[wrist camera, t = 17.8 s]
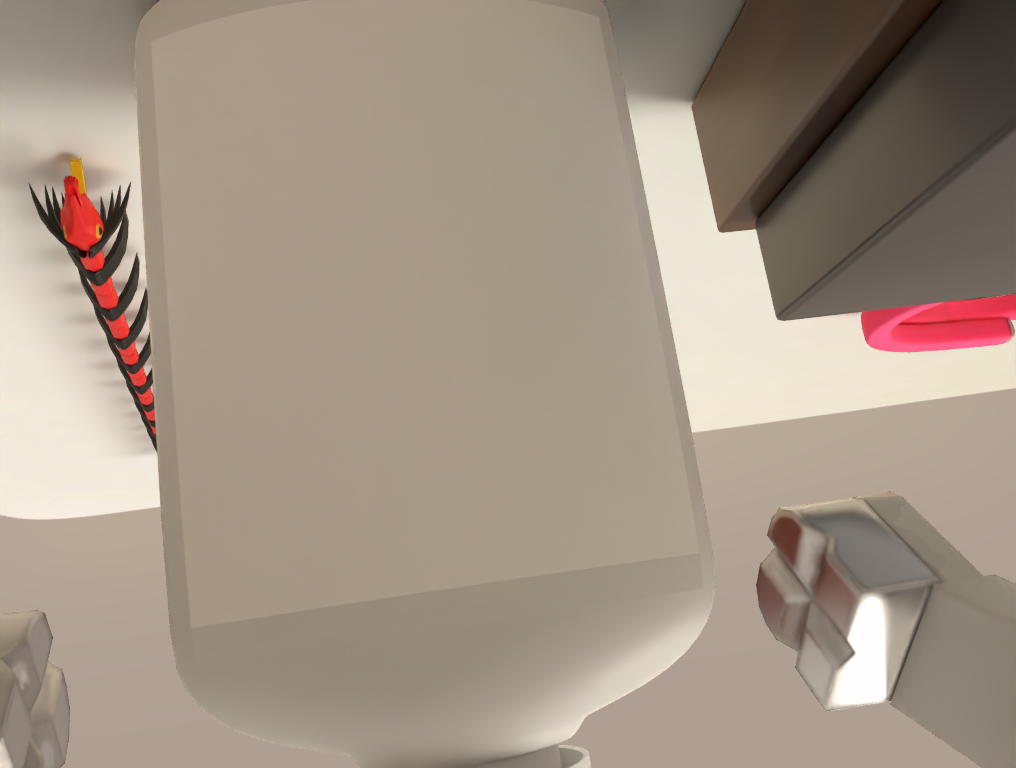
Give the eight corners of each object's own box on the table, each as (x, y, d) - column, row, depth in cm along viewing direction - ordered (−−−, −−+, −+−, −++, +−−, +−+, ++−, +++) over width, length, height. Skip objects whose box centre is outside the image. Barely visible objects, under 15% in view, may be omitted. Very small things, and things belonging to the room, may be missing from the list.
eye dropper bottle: (211, -184, 8) (358, 1501, 5) (657, -9, 11) (892, 1081, 9) (97, 78, 11) (149, 1195, 9) (467, 155, 15) (592, 979, 12)
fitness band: (814, 315, 28) (826, 363, 27) (939, 236, 22) (956, 294, 22) (1036, 297, 30) (1049, 342, 29) (1201, 220, 24) (1220, 274, 24)
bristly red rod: (122, 138, 13) (126, 219, 13) (195, 450, 33) (198, 483, 33) (11, 138, 12) (13, 221, 12) (154, 453, 33) (156, 487, 33)
